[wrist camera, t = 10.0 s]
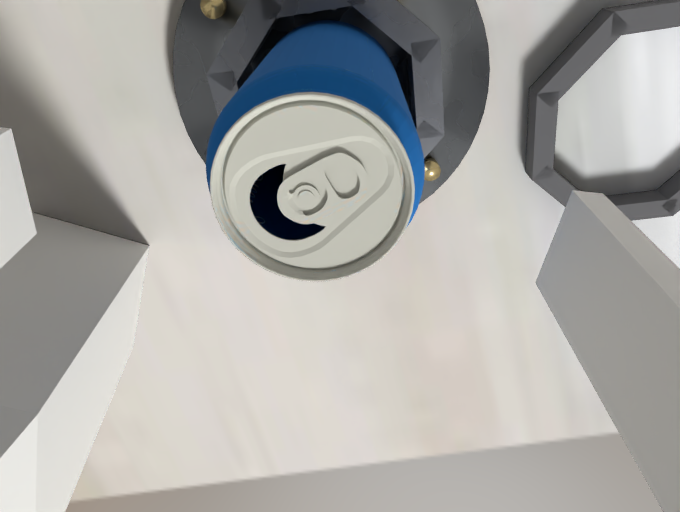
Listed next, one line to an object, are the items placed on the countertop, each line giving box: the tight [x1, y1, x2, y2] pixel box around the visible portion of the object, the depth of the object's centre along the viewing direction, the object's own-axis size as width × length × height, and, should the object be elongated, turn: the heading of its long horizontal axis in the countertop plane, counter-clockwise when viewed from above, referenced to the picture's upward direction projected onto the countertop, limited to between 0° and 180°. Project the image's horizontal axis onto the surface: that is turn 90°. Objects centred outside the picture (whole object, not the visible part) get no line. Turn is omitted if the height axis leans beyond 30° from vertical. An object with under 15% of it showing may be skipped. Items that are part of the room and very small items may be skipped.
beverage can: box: [206, 20, 425, 282], centre depth 19 cm, size 6×6×12 cm
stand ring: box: [525, 0, 680, 221], centre depth 25 cm, size 10×10×1 cm
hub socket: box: [173, 0, 490, 204], centre depth 23 cm, size 15×15×3 cm
